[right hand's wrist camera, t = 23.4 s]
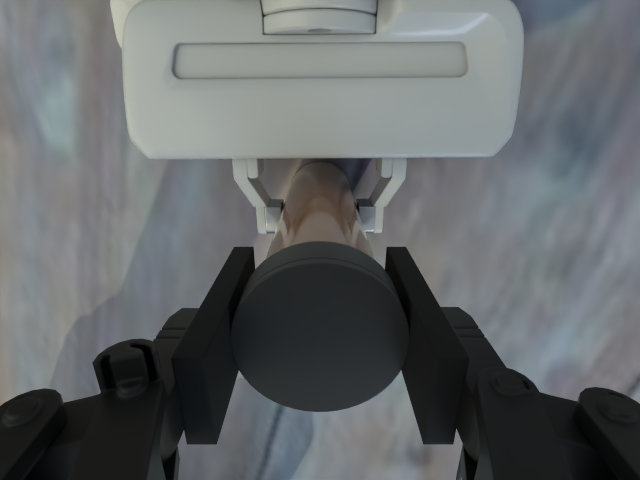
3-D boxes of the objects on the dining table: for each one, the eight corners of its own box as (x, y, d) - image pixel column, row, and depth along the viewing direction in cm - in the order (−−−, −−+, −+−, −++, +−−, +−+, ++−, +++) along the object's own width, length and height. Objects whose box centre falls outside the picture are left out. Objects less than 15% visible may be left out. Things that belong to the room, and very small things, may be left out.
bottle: (349, 218, 29) (390, 380, 12) (292, 220, 29) (255, 385, 12) (349, 160, 27) (395, 257, 11) (288, 162, 27) (238, 263, 11)
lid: (244, 372, 13) (233, 409, 12) (238, 237, 11) (224, 259, 10) (389, 377, 13) (398, 415, 12) (408, 244, 11) (423, 267, 10)
